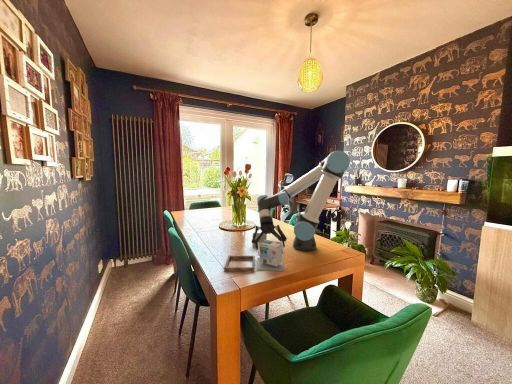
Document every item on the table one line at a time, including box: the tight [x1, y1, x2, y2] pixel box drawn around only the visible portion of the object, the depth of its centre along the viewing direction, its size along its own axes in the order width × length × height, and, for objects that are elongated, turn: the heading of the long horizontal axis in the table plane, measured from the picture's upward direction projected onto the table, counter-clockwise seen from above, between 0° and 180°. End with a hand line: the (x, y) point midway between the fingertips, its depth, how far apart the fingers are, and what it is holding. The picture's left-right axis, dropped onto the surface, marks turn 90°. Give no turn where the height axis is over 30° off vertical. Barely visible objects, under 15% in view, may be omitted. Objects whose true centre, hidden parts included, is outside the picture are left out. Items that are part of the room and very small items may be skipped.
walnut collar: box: [223, 254, 256, 273], centre depth 115 cm, size 15×15×2 cm
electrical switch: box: [251, 232, 268, 248], centre depth 141 cm, size 9×5×9 cm, turn 86°
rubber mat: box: [256, 257, 285, 272], centre depth 116 cm, size 14×14×1 cm
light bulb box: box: [259, 239, 283, 266], centre depth 114 cm, size 11×7×11 cm, turn 58°
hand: (271, 254), depth 112 cm, fingers open, 12 cm apart
